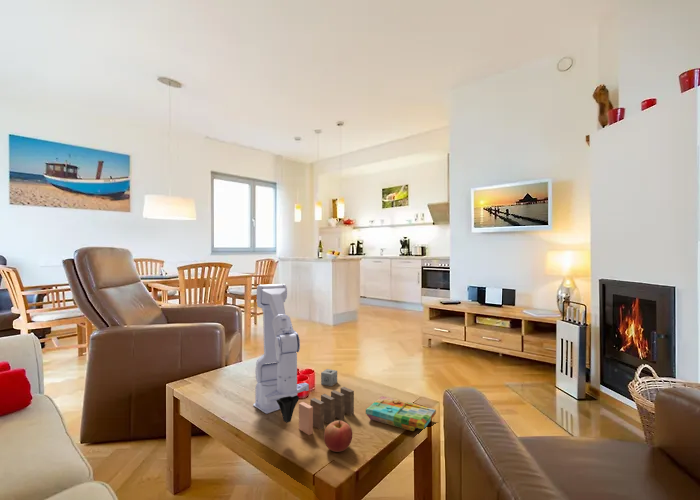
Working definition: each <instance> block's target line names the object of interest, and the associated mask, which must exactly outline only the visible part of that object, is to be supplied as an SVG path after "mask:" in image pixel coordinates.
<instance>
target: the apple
mask: <svg viewBox="0 0 700 500" xmlns="http://www.w3.org/2000/svg"><path fill="white" fill-rule="evenodd" d="M323 440H324V444H325V446H326V448H327V449H328V450H330V451H332V452H336V453H338V452H344V451H346V450H347V449H348V447H350V444H351V443H352V441H353V430H352V428H351V426H350V424H349V423H347V422H345V421H343V420H339V419H338V420H335V421H334V422H332V423H330V424H327V426H326V427H325V428H324V432H323Z"/></svg>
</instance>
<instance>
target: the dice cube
mask: <svg viewBox="0 0 700 500" xmlns="http://www.w3.org/2000/svg"><path fill="white" fill-rule="evenodd" d="M320 374H321V375H320V385H323V386H327V387H333V386H334V385H336V384H337V383H338V370H335V369H330V368H326V369H325V370H323V371H321V373H320Z"/></svg>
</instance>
